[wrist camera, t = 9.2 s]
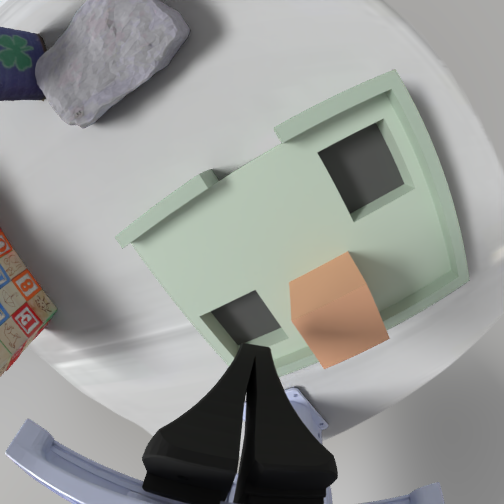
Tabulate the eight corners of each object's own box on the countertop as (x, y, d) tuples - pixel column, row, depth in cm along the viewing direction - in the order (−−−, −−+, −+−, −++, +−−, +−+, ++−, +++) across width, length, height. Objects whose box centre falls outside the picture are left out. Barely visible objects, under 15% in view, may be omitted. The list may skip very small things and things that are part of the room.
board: (450, 263, 19) (469, 280, 16) (244, 364, 25) (240, 389, 22) (377, 79, 15) (395, 69, 12) (135, 223, 20) (114, 237, 17)
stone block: (210, 40, 16) (137, -21, 12) (200, 27, 12) (114, -39, 8) (109, 140, 20) (50, 77, 16) (81, 153, 16) (17, 80, 12)
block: (370, 300, 19) (389, 338, 15) (317, 327, 20) (324, 369, 16) (347, 251, 18) (366, 283, 13) (288, 282, 19) (291, 321, 15)
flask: (25, 45, 14) (-49, 38, 4) (43, 26, 13) (-32, 11, 3) (39, 107, 17) (-51, 113, 7) (58, 87, 16) (-37, 84, 6)
